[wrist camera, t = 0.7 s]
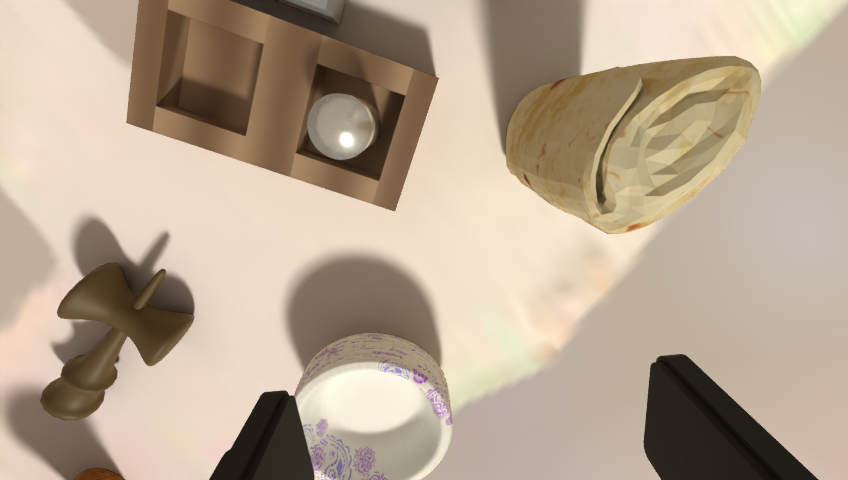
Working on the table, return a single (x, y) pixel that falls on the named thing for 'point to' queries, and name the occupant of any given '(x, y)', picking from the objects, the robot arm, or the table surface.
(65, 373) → the kendama
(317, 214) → the table surface
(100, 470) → the disposable coffee cup
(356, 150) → the cylinder
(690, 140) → the food model
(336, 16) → the tray
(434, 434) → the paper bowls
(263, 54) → the brown compartment tray
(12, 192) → the table surface
